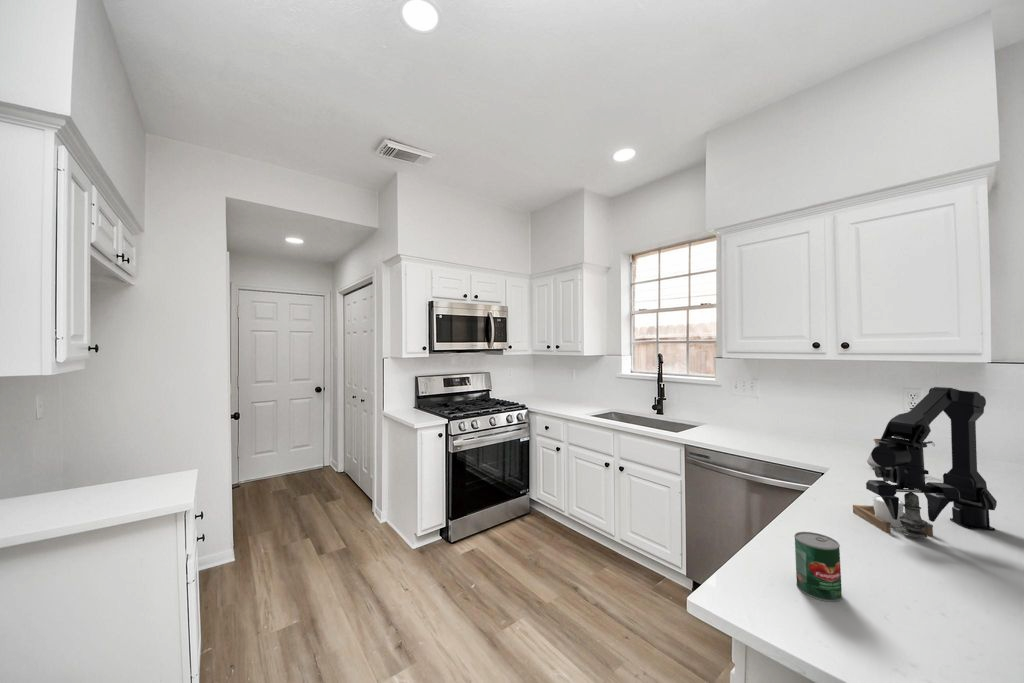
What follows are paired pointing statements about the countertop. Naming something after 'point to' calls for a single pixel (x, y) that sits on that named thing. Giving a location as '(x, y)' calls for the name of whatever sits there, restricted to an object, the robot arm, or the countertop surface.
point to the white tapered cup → (886, 511)
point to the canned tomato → (818, 566)
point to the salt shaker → (913, 517)
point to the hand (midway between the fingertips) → (913, 520)
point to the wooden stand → (869, 516)
